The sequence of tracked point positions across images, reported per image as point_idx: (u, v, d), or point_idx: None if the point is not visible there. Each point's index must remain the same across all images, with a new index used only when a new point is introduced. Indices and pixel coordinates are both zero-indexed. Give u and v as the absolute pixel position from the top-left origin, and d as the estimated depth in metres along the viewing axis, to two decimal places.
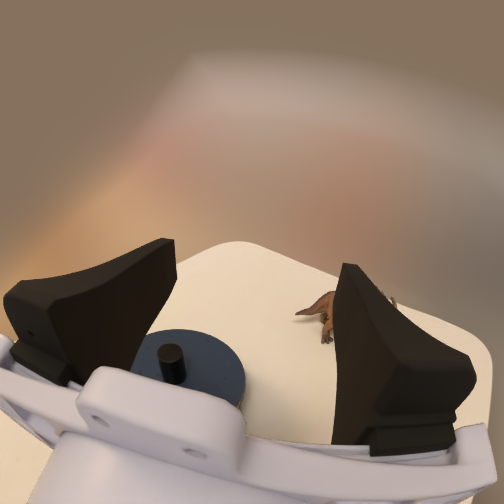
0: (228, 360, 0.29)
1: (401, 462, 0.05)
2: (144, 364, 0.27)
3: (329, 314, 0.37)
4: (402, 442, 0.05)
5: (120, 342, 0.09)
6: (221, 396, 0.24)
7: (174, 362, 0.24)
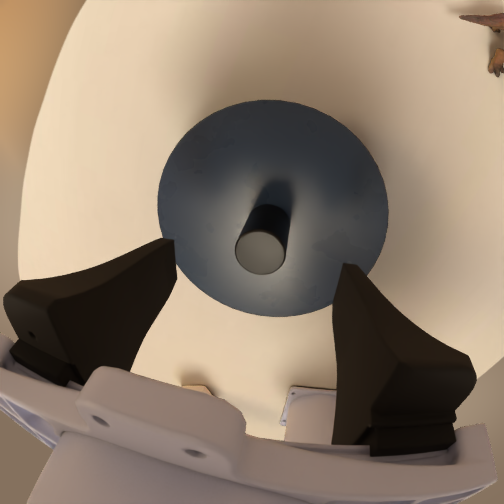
0: (359, 175, 0.14)
1: (402, 461, 0.05)
2: (209, 211, 0.17)
3: None
4: (402, 441, 0.05)
5: (120, 342, 0.09)
6: (351, 253, 0.17)
7: (275, 269, 0.14)
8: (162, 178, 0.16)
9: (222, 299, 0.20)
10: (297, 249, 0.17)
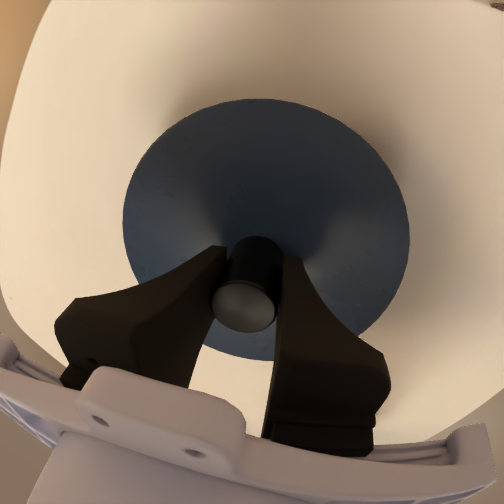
0: (376, 200, 0.11)
1: (401, 461, 0.05)
2: (183, 242, 0.13)
3: None
4: (303, 440, 0.05)
5: (183, 359, 0.09)
6: (360, 294, 0.13)
7: (264, 327, 0.11)
8: (126, 201, 0.13)
9: (205, 341, 0.16)
10: None
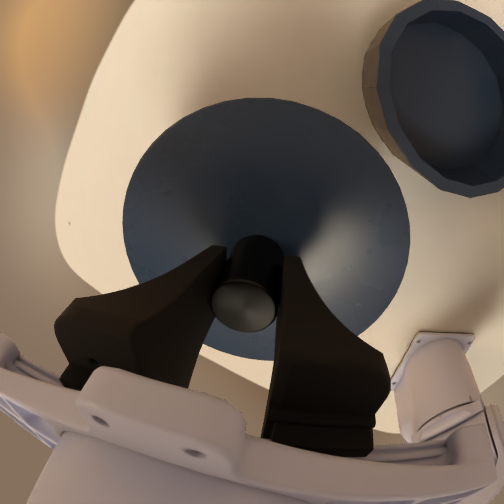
0: (376, 199, 0.11)
1: (401, 462, 0.05)
2: (183, 241, 0.13)
3: None
4: (303, 440, 0.05)
5: (183, 359, 0.09)
6: (360, 293, 0.13)
7: (264, 326, 0.11)
8: (126, 200, 0.13)
9: (205, 340, 0.16)
10: None
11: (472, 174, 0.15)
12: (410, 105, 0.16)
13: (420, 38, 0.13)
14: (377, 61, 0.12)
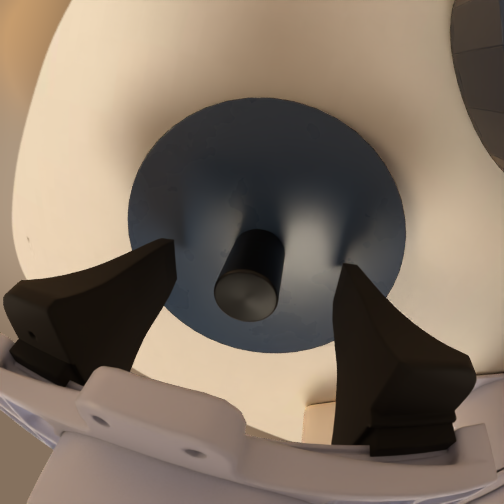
0: (373, 194, 0.11)
1: (401, 461, 0.05)
2: (187, 236, 0.14)
3: None
4: (402, 441, 0.05)
5: (120, 342, 0.09)
6: None
7: (265, 315, 0.11)
8: (132, 196, 0.13)
9: (207, 333, 0.17)
10: (294, 282, 0.14)
11: None
12: None
13: None
14: (498, 10, 0.04)
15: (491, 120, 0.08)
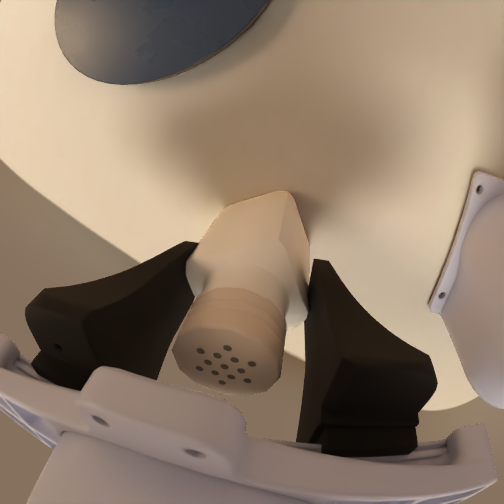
0: None
1: (401, 462, 0.05)
2: None
3: None
4: (355, 443, 0.05)
5: (149, 350, 0.09)
6: None
7: None
8: None
9: (97, 73, 0.12)
10: None
11: None
12: None
13: None
14: None
15: None
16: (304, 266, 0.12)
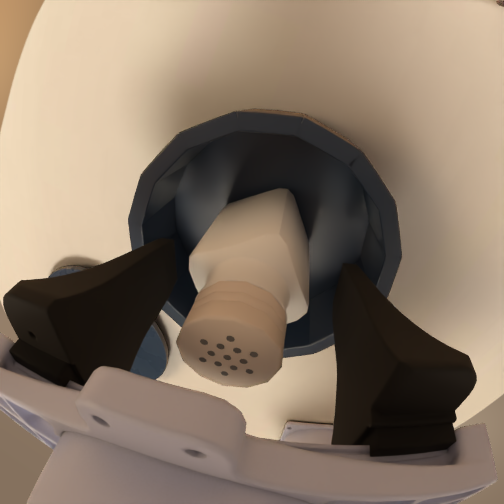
0: None
1: (401, 461, 0.05)
2: None
3: None
4: (402, 442, 0.05)
5: (120, 342, 0.09)
6: (148, 356, 0.23)
7: None
8: None
9: None
10: None
11: (293, 322, 0.17)
12: None
13: (230, 155, 0.15)
14: (131, 237, 0.14)
15: None
16: (304, 262, 0.13)
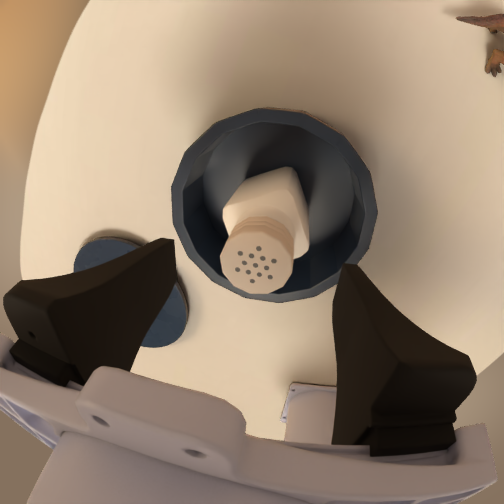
0: None
1: (402, 461, 0.05)
2: None
3: None
4: (402, 441, 0.05)
5: (120, 342, 0.09)
6: (169, 318, 0.28)
7: None
8: (74, 271, 0.28)
9: None
10: None
11: (297, 274, 0.21)
12: None
13: (248, 141, 0.19)
14: (172, 201, 0.18)
15: None
16: (305, 216, 0.17)
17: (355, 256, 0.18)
